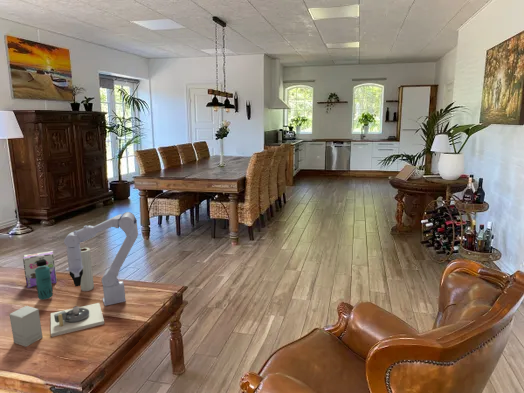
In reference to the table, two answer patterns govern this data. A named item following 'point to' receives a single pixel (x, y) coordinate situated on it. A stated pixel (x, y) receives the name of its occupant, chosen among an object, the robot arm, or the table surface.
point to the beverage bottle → (43, 280)
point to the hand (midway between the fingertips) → (77, 285)
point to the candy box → (31, 266)
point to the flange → (71, 317)
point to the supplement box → (26, 326)
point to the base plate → (66, 327)
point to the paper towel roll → (86, 270)
